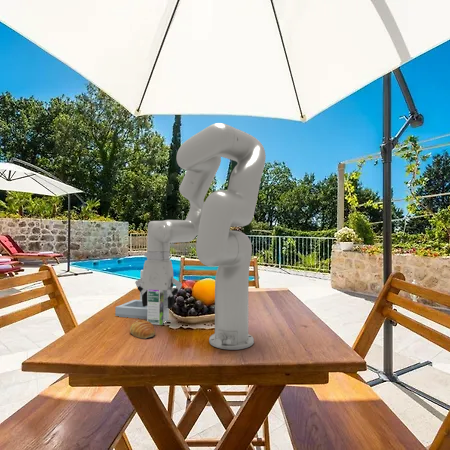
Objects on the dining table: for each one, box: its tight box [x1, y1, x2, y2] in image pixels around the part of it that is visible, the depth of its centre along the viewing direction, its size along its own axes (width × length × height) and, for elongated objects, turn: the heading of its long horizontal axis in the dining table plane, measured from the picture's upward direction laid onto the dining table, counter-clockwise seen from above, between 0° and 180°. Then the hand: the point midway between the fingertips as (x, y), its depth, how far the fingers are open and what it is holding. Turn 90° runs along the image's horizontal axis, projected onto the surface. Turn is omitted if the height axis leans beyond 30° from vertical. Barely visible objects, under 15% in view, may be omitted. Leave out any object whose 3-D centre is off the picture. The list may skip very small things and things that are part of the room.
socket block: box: [114, 299, 147, 320], centre depth 121 cm, size 13×13×4 cm
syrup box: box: [146, 289, 170, 326], centre depth 110 cm, size 6×6×14 cm
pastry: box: [129, 319, 156, 340], centre depth 97 cm, size 9×7×4 cm
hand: (158, 306), depth 110 cm, fingers open, 9 cm apart
